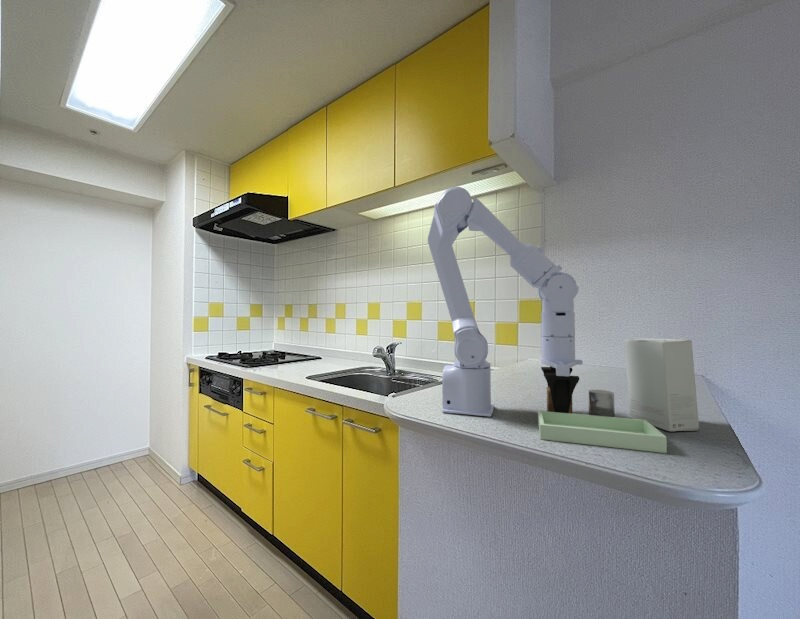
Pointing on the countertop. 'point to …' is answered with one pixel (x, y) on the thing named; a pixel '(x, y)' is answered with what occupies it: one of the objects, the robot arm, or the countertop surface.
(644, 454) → the countertop surface
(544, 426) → the parts tray
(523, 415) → the countertop surface
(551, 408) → the walnut block
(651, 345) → the skincare box
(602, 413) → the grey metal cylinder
